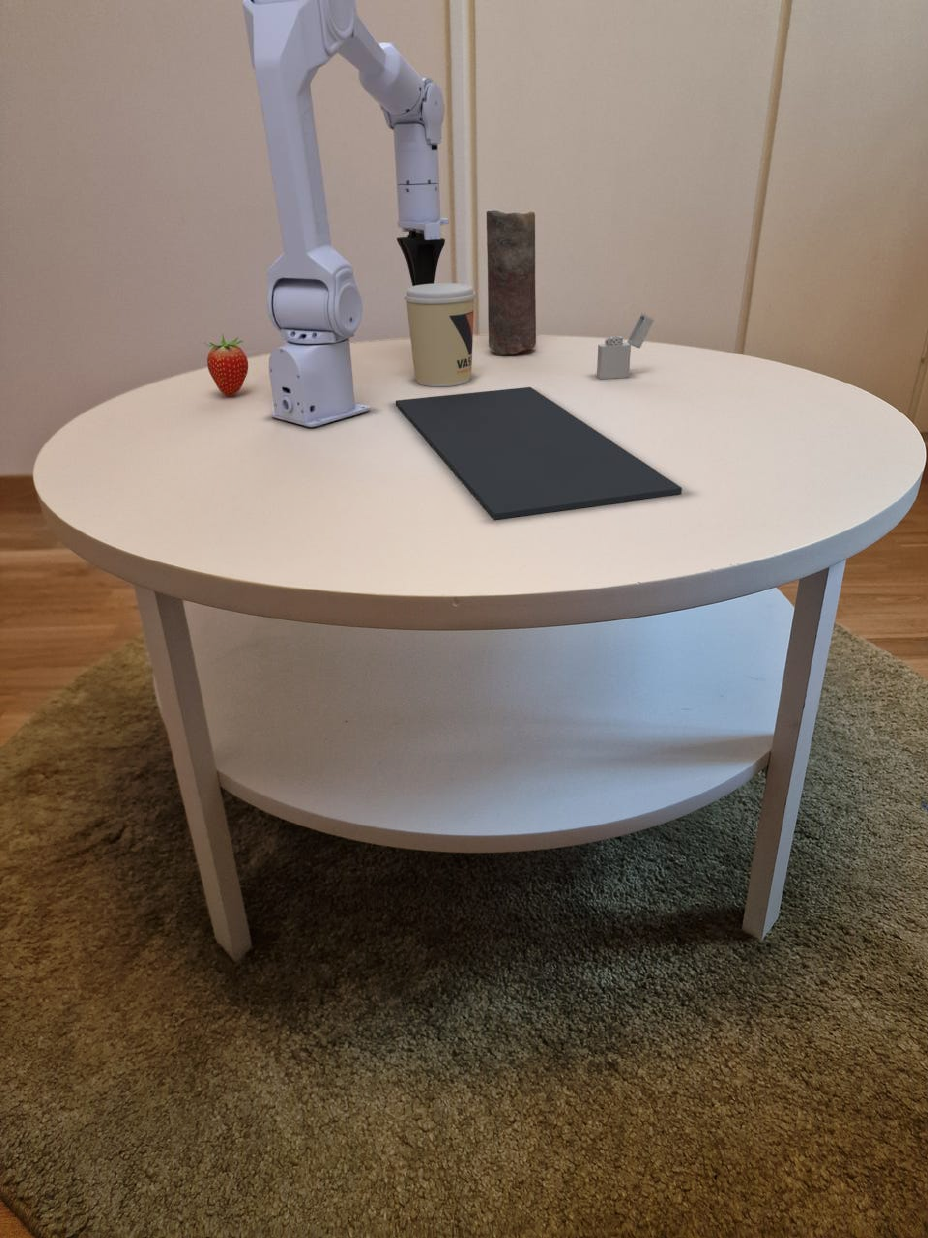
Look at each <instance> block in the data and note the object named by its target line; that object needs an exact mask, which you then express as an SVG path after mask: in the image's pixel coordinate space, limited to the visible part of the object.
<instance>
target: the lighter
mask: <svg viewBox="0 0 928 1238" xmlns="http://www.w3.org/2000/svg"><path fill="white" fill-rule="evenodd" d="M654 321H655V319H654V318H653V317H650V316H648V315H647V314H644V313H641V314H640V315H639V318H638V320H637V322H636V323H635V326H634V327H633V330H632V331H631V334H630V336H629V338H628V340H627V342H624V337H623V336H619V335H618V336H608V337H607V338H605V340H604V343H600V344H598V345H597V364H596V378H597V379H598V380H610V379H626V378H629V377H630V368H631V353H632V347H635V348H636V349H640V348H641V347H642V345H643V343H644V342H645V339H646V338H647V335H648V333H649V332H650V329H651V327H652V325H653V323H654Z"/></svg>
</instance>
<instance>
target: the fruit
mask: <svg viewBox="0 0 928 1238" xmlns="http://www.w3.org/2000/svg"><path fill="white" fill-rule="evenodd" d="M238 338H239V337H238V336H237V337H236V338H235V339H233V340H232V341H230V342H226V340H225V336H224V333H222V340H221V341H220V343H219V344H214V343H212V342H209V344H208V343H206V342H204V345H205V346H207V347H209V348H211V349H210V350H209V352H208V354H207V357H206V366H207V370H208V372H209V375H210V377H211V378H212V380H213V382H214V383H215V385H216V387H217V388H218V390H219V391H220V393H222V394H223V395H225V396H226V397H232V396H234V395H236V394H237V393H238V392H239V391H240V389H241V388H242V386H243V385H244V382H245V380H246V378H247V375H248V371H249V360H248V357H247V355H246V353H245V352H244V351H243V349H242V348H241V347H240V346H238V345H239V344H240V343H243V341H244V340H239V341H238Z"/></svg>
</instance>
